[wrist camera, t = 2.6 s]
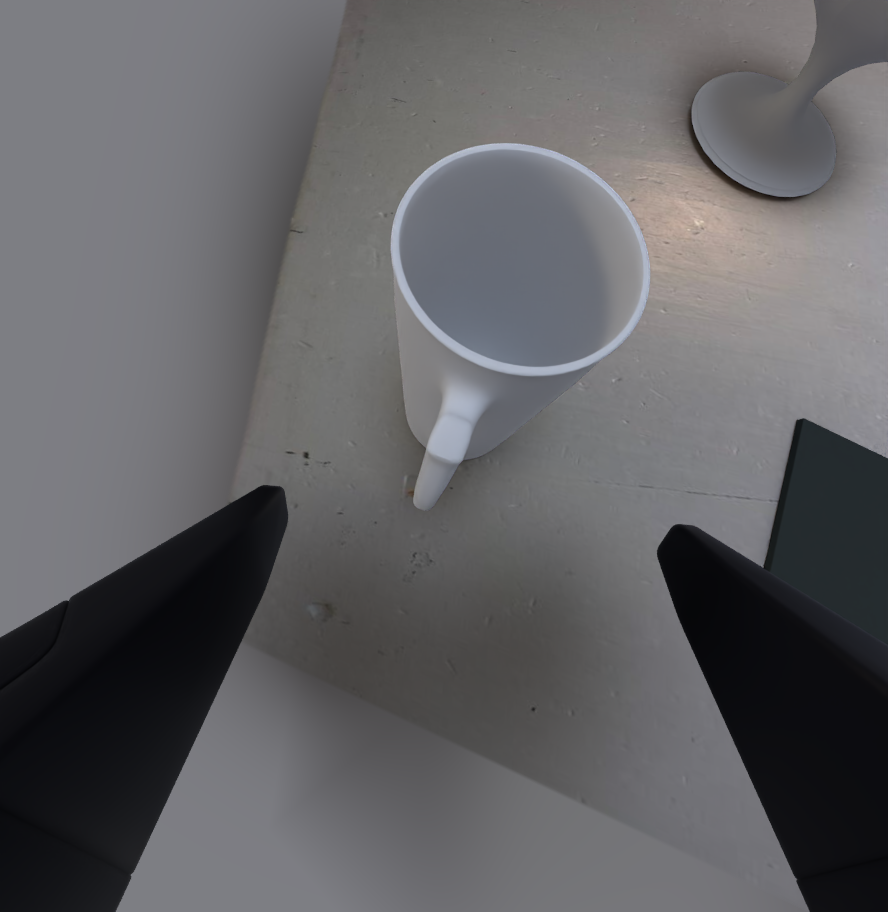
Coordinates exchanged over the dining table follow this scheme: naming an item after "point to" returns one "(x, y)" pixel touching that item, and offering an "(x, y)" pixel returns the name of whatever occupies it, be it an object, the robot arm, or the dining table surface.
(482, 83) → the dining table surface
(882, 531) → the mat
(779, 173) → the chalice
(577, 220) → the mug
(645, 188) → the dining table surface
